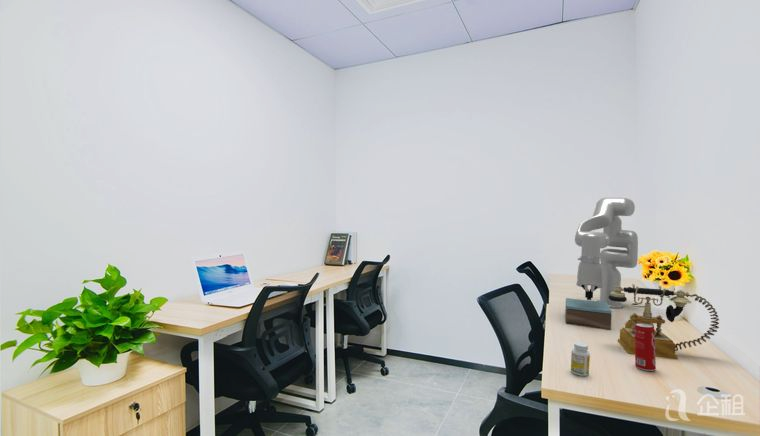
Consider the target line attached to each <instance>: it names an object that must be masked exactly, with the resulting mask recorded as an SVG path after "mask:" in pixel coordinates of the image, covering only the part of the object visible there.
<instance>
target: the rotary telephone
mask: <svg viewBox="0 0 760 436" xmlns="http://www.w3.org/2000/svg"><path fill="white" fill-rule="evenodd" d="M614 290H615V292H611V295H609V299H610V300H612V301H617V302H620V303H625V302H626V301H627V297H626V293H627V294H633V302H634V303H635V304H637V305H641V304H643V302H644V300H645V303H644V309H643V313H642V315H638V314H637V313H636V312H633V313H632V314H630V315H629V319H628V320H627V321H626V322H625V323H624V324H625V325H624V327H622V328H620V329H619V338H617V343H619V345H620V346H621V348H623V349H624V351H626V353H628V354H629V355H635V334H634V327H635V325H636V323H646V324H651V325H653V327H654V328H655V358H660V359H661V358H663V359H671V360H678V359H679V358H678V355H677V354H676V352H678V351H679V350H681V351H682V350H683V348H682V346H683V347H684V348H685V349H687V346H686V344H687V345H688V346H689V348H692V345H691V344H693V346H695V347H697V343H698V344H699V345H702V344H703V343H702V342H705V343H707V340H706V339H708V340H710V339H711V337H710V336H715V334H714V333H717V332H718V329H719V328H720V327H719V326H718V325H719V324H720V322H719V321H720V319H719V315H718V312H717V311H716V308H715V307H714V306H713V305H712V304H711V303H710V302H709V301H707V299H706V298H704V297H703V296H701V295H698V294H696V293H694V294H690V293H689V291H685V290H681V289H680V290H677V291H674V290H669V289H667V288H663V289H662V286H661V285H659V286H658V288H649V287H648V288H647V287H639V286H636V285H635V283H633V284H632V287H631V286H628V287H625V286H624V287H622V286H615V289H614ZM637 294H638V295H647V296H645V297H636V295H637ZM650 296H660V303H658V302H659V298H651V297H650ZM670 296H673V297H670ZM685 296H686V297H685ZM664 297H670V298H669V301H671V302H673V304H674V305H675V308H674V307H673V305H672V304H669V305H667V307H666V309H665V317H666V320H667V321H669V322H670V323H673V322H674V321H675V319H676V317H678V316H680V314H681V313H682V312H683V310H684V309H685V307H686V305H687V304H692V301H691V300H689V297H690V298H691V297H692V298H693V297H695V298H694V301H695V302H698V303H699V304H702V305H703V306H704V305H705V306H704V308H707V309H706V310H707V311H709V312H708V313H709V314H710V315H709V316H710V320H711V321H710V323H711V324H709V325H710V326H711V327H708V330H706V333H703V335H701V336H700V337H698V338H696V339H693V340H688V341H684V342H683V341H681V342H679V343H674V341H673V340H672V339H671V338H670V337H669V336H667V335H666V334H664V333H663V330H662V324H666V320H665V319H663V316H661V315H660V314H658V316H653V315H652V307H651V300H652V303H653V305H654V306H656V307H657V306H658V307H659V306H662V304H663V300H664ZM636 298H637V299H636ZM640 299H641V301H640ZM636 300H637V301H636ZM639 301H640V302H639ZM655 301H656V302H655ZM657 303H658V304H657ZM655 324H656V327H655ZM705 338H706V339H705ZM701 341H702V342H701ZM696 342H697V343H696Z"/></svg>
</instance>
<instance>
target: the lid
mask: <svg viewBox="0 0 760 436" xmlns="http://www.w3.org/2000/svg"><path fill="white" fill-rule="evenodd" d="M597 301H598V300H587V299H580V298H579V299H578V298H577V299H576V298H569V297H565V308H566V307H567V309H575V310H583V311H592V312H600V313H608V314H612V308H610V307H609V305H608V303H606V302H597ZM612 315H613V314H612Z"/></svg>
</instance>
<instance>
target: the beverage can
mask: <svg viewBox="0 0 760 436" xmlns="http://www.w3.org/2000/svg"><path fill="white" fill-rule="evenodd" d="M655 331H656V328H655V326H654V327H653V325H651V324H646V323H636V325H635V327H634V334H635V354H634V361H635V362H634V366H635V367H636V368H637V369H639V370H642V371H647V372H654V371H655V370H657V366H656V365H657V364H656V358H657V357H655Z"/></svg>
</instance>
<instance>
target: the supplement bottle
mask: <svg viewBox="0 0 760 436" xmlns="http://www.w3.org/2000/svg"><path fill="white" fill-rule="evenodd" d="M573 347H574V348H572V349H571V358H570V372H571V373H572V374H574V375H577V376H580V377H587V376H589V374H590V373H589V372H590V358H591V354H590V352H589V345H588V344H587V343H584V342H579V341H576V342H574V344H573Z"/></svg>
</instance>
